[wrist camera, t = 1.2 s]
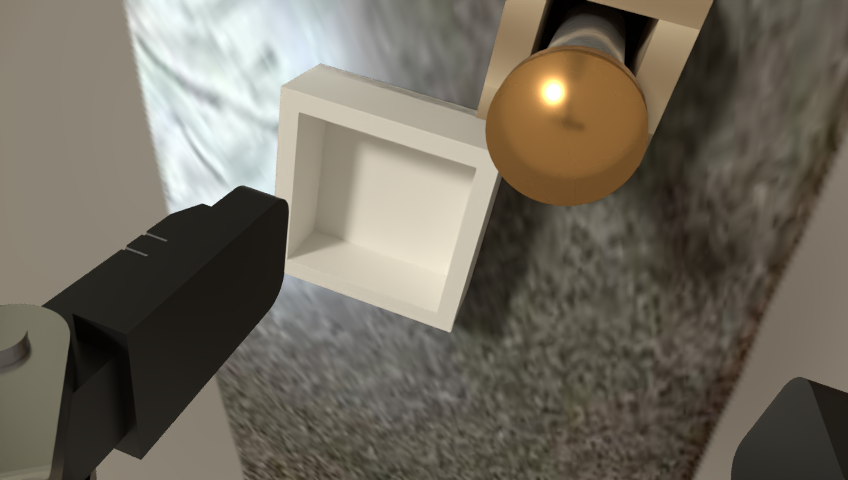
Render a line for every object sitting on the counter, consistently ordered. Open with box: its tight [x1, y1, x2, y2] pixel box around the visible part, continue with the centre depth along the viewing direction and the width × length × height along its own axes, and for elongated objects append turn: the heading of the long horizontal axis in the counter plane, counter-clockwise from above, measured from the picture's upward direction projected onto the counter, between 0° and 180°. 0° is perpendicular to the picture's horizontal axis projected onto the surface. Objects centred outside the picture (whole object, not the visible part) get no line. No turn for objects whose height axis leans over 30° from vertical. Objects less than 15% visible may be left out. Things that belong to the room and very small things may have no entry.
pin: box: [485, 1, 648, 206], centre depth 22 cm, size 4×4×13 cm
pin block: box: [476, 0, 713, 167], centre depth 25 cm, size 7×7×4 cm
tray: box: [275, 63, 502, 332], centre depth 32 cm, size 11×11×4 cm
